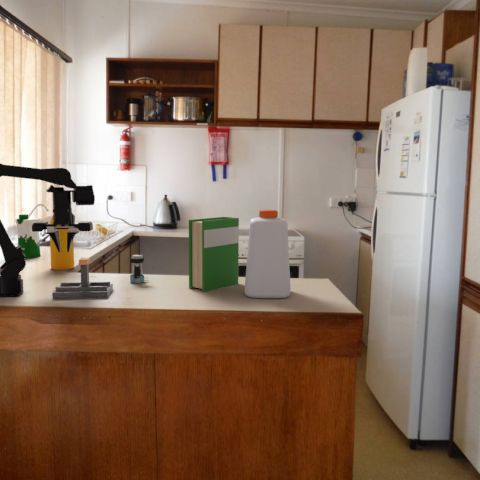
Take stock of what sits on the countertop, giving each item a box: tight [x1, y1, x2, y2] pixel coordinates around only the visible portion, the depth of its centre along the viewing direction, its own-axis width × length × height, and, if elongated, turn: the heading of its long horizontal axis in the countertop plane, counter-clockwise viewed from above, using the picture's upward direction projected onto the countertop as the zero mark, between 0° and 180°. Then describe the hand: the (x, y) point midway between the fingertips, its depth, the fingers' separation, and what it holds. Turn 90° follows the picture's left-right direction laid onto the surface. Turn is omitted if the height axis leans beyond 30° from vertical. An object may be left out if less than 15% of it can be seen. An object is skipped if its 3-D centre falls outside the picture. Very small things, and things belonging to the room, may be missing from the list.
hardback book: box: [188, 216, 240, 293], centre depth 178 cm, size 18×7×24 cm, turn 139°
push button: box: [129, 254, 149, 284], centre depth 184 cm, size 7×5×10 cm
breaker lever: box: [78, 257, 91, 286], centre depth 165 cm, size 3×5×10 cm, turn 7°
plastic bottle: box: [243, 209, 292, 299], centre depth 167 cm, size 15×15×28 cm
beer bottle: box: [49, 215, 75, 271], centre depth 209 cm, size 9×9×29 cm
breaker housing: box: [51, 281, 114, 300], centre depth 166 cm, size 17×12×3 cm
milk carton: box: [15, 214, 41, 259], centre depth 236 cm, size 9×9×20 cm
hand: (63, 251), depth 170 cm, fingers open, 3 cm apart
